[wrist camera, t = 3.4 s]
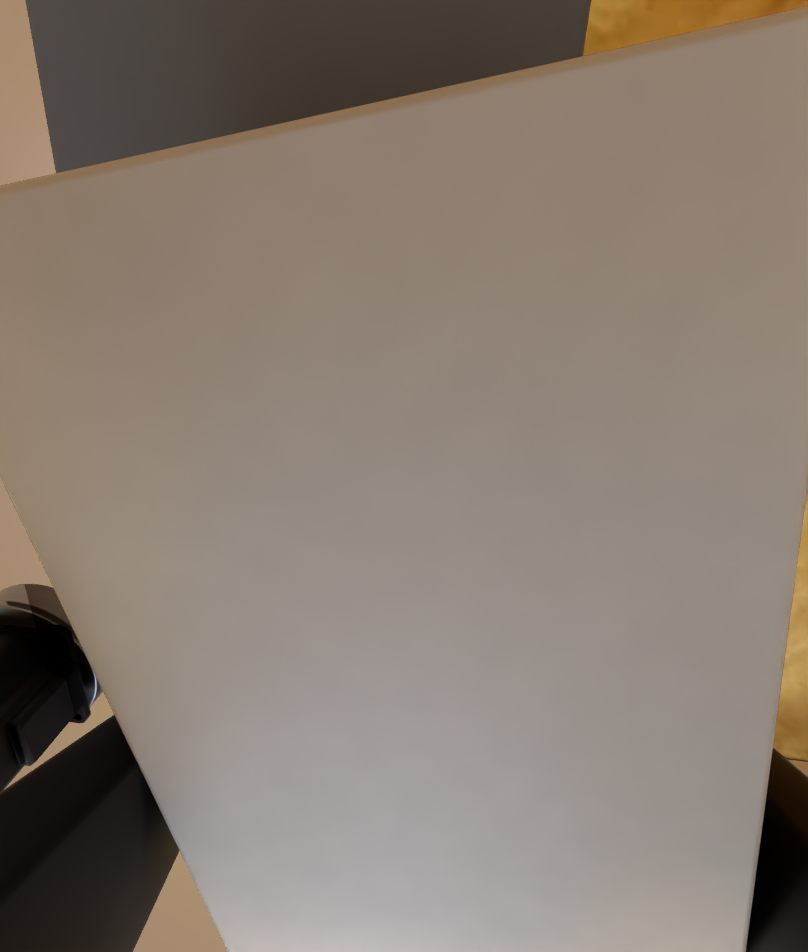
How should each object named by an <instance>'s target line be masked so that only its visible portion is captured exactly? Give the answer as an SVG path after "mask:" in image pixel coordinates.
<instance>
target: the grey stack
mask: <svg viewBox="0 0 808 952" xmlns="http://www.w3.org/2000/svg"><path fill="white" fill-rule="evenodd" d="M26 5H27V11H28V17H29V22H30V28H31V33H32V39H33V45H34V51H35V56H36V62H37V68H38V73H39V79H40V84H41V90H42V95H43V101H44V107H45V113H46V119H47V124H48V130H49V136H50V141H51V147H52V153H53V158H54V164H55V170H56V173H60V172H64V171H69V170H73V169H78V168H82V167H87V166H91V165H96V164H100V163H105V162H109V161H114V160H118V159H123V158H127V157H132V156H136V155H141V154H145V153H150V152H154V151H159V150H163V149H168V148H172V147H177V146H181V145H186V144H190V143H195V142H199V141H204V140H208V139H213V138H217V137H222V136H226V135H231V134H235V133H240V132H244V131H249V130H253V129H258V128H262V127H267V126H271V125H276V124H280V123H285V122H289V121H294V120H298V119H303V118H307V117H312V116H316V115H321V114H325V113H330V112H334V111H339V110H343V109H348V108H352V107H357V106H361V105H366V104H370V103H375V102H379V101H384V100H388V99H393V98H397V97H402V96H406V95H411V94H415V93H420V92H424V91H429V90H433V89H438V88H442V87H447V86H451V85H456V84H460V83H465V82H469V81H474V80H478V79H483V78H487V77H492V76H496V75H501V74H505V73H510V72H514V71H519V70H523V69H528V68H532V67H537V66H541V65H546V64H550V63H555V62H559V61H564V60H568V59H573V58H577V57H582V56H583V50H584V44H585V37H586V31H587V24H588V18H589V11H590V5H591V0H26Z"/></svg>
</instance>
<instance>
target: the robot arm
mask: <svg viewBox="0 0 808 952" xmlns="http://www.w3.org/2000/svg"><path fill="white" fill-rule="evenodd" d="M90 715H91V711H90V707H89V703H88V698H87V694H86V690H85V686H84V682H83V677H82V673H81V669H80V665H79V660H78V656H77V652H76V648H75V644H74V639H73V635H72V632H71V631H70V630H69V628H67V627H65V626H62V625H56V624H47V623H39V622H31V621H22V620H14V619H6V618H0V952H133V950H134V948H135V945H136V943H137V941H138V939H139V937H140V935H141V933H142V930H143V928H144V926H145V924H146V922H147V920H148V917H149V915H150V913H151V911H152V909H153V907H154V904H155V902H156V900H157V898H158V896H159V893H160V891H161V889H162V887H163V885H164V883H165V880H166V878H167V876H168V874H169V872H170V870H171V868H172V865H173V863H174V861H175V859H176V856H177V855H178V852H179V848H178V846H177V844H176V842H175V840H174V838H173V836H172V834H171V832H170V829H169V827H168V825H167V823H166V821H165V819H164V817H163V815H162V813H161V811H160V809H159V807H158V804H157V802H156V800H155V798H154V796H153V794H152V792H151V790H150V788H149V786H148V784H147V782H146V779H145V777H144V775H143V773H142V771H141V769H140V767H139V764H138V762H137V761H136V759H135V757H134V754H133V752H132V750H131V748H130V746H129V744H128V742H127V740H126V738H125V736H124V734H123V732H122V730H121V727H120V725H119V723H118V721H117V719H116V717H115V715H113V716H112V717H111V718H109V719H107V720H106V721H105V722H103V723H101V724H100V725H98V726H97V727H96V728H94V729H93V730H91V731H90V732H88V733H87V734H85V735H84V736H82V737H81V738H79V739H78V740H77V741H75V742H74V743H72V744H71V745H69V746H68V747H66V748H65V749H63V750H62V751H60V752H59V753H58V754H56V755H55V756H53V757H52V758H50V759H49V760H47V761H46V762H44V763H43V764H41V765H40V766H39V767H37V768H36V769H34V770H33V771H31V772H30V773H28V774H27V775H25V776H24V777H23V778H21V779H20V780H18V781H17V782H15V783H14V784H12V785H11V786H9V787H8V788H6V786H7V785H8V784H9V783H10V782H11V781H12V779H13V778H14V777H15V776H16V775H17V774H18V772H19V771H20V770H21V769H22V768H23V767H24V765H26V766H31V765H32V764H33V763H34V762H36V761H37V760H38V758H39V757H40V756H41V755H42V754H43V752H44V751H45V750H46V749H47V748H48V746H49V745H50V744H51V743H52V742H53V741H54V739H55V738H56V737H57V736H58V735H59V733H60V732H61V731H62V730H63V729H64V727H65V726H66V725H67V724H68V723H69V722H73V723H84V722H85V721H86V720H87V719H88V718H89V716H90ZM5 788H6V789H5ZM4 789H5V790H4ZM746 952H808V777H807V776H806V775H805V774H804V773H803V772H801V771H800V770H799V769H798V768H797V767H795V766H794V765H793V764H792V763H791V762H790V761H788V760H787V759H786V758H785V757H784V756H782V755H781V754H780V753H779V752H778V751H776V750H775V749H774V748H773V750H772V758H771V765H770V773H769V780H768V788H767V795H766V803H765V810H764V818H763V825H762V833H761V840H760V848H759V855H758V863H757V871H756V878H755V886H754V893H753V901H752V908H751V916H750V923H749V931H748V938H747V946H746Z"/></svg>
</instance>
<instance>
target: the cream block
mask: <svg viewBox="0 0 808 952" xmlns="http://www.w3.org/2000/svg"><path fill="white" fill-rule="evenodd" d="M0 477H1V479H2V482H3V484H4V485H5V488H6V490H7V492H8V494H9V496H10V498H11V500H12V502H13V504H14V507H15V509H16V511H17V513H18V515H19V517H20V519H21V521H22V523H23V525H24V527H25V530H26V532H27V534H28V536H29V538H30V540H31V542H32V544H33V546H34V548H35V550H36V552H37V554H38V557H39V559H40V561H41V563H42V565H43V567H44V569H45V571H46V573H47V575H48V577H49V579H50V581H51V584H52V586H53V588H54V590H55V592H56V594H57V596H58V598H59V600H60V602H61V605H62V607H63V609H64V611H65V613H66V615H67V617H68V619H69V621H70V623H71V625H72V627H73V630H74V632H75V634H76V636H77V638H78V640H79V642H80V644H81V646H82V648H83V650H84V652H85V655H86V657H87V659H88V661H89V663H90V665H91V667H92V669H93V671H94V673H95V675H96V677H97V680H98V682H99V684H100V686H101V688H102V690H103V692H104V694H105V696H106V698H107V700H108V702H109V704H110V706H111V709H112V711H113V713H114V715H115V717H116V719H117V721H118V723H119V725H120V727H121V730H122V732H123V734H124V736H125V738H126V740H127V742H128V744H129V746H130V748H131V750H132V752H133V754H134V757H135V759H136V761H137V762H138V764H139V767H140V769H141V771H142V773H143V775H144V777H145V779H146V782H147V784H148V786H149V788H150V790H151V792H152V794H153V796H154V798H155V800H156V802H157V804H158V807H159V809H160V811H161V813H162V815H163V817H164V819H165V821H166V823H167V825H168V827H169V829H170V832H171V834H172V836H173V838H174V840H175V842H176V844H177V846H178V848H179V850H180V852H181V854H182V856H183V858H184V861H185V862H186V865H187V867H188V869H189V871H190V873H191V875H192V877H193V879H194V881H195V884H196V886H197V888H198V890H199V892H200V894H201V896H202V898H203V900H204V902H205V904H206V907H207V908H208V911H209V913H210V915H211V917H212V919H213V921H214V923H215V925H216V927H217V929H218V931H219V933H220V936H221V938H222V940H223V942H224V944H225V946H226V948H227V950H228V952H746V946H747V938H748V931H749V923H750V916H751V908H752V901H753V893H754V886H755V878H756V871H757V863H758V855H759V848H760V840H761V833H762V825H763V818H764V810H765V803H766V795H767V788H768V780H769V773H770V765H771V758H772V750H773V743H774V735H775V728H776V720H777V713H778V705H779V697H780V690H781V682H782V675H783V667H784V660H785V652H786V645H787V637H788V630H789V622H790V615H791V607H792V600H793V592H794V585H795V577H796V570H797V562H798V554H799V547H800V539H801V532H802V524H803V517H804V509H805V502H806V494H807V487H808V6H807V7H802V8H798V9H793V10H789V11H784V12H780V13H775V14H771V15H766V16H762V17H757V18H753V19H748V20H744V21H739V22H735V23H730V24H726V25H721V26H717V27H712V28H708V29H703V30H699V31H694V32H690V33H685V34H681V35H676V36H672V37H667V38H663V39H658V40H654V41H649V42H645V43H640V44H636V45H631V46H627V47H622V48H618V49H613V50H609V51H604V52H600V53H595V54H591V55H586V56H582V57H577V58H573V59H568V60H564V61H559V62H555V63H550V64H546V65H541V66H537V67H532V68H528V69H523V70H519V71H514V72H510V73H505V74H501V75H496V76H492V77H487V78H483V79H478V80H474V81H469V82H465V83H460V84H456V85H451V86H447V87H442V88H438V89H433V90H429V91H424V92H420V93H415V94H411V95H406V96H402V97H397V98H393V99H388V100H384V101H379V102H375V103H370V104H366V105H361V106H357V107H352V108H348V109H343V110H339V111H334V112H330V113H325V114H321V115H316V116H312V117H307V118H303V119H298V120H294V121H289V122H285V123H280V124H276V125H271V126H267V127H262V128H258V129H253V130H249V131H244V132H240V133H235V134H231V135H226V136H222V137H217V138H213V139H208V140H204V141H199V142H195V143H190V144H186V145H181V146H177V147H172V148H168V149H163V150H159V151H154V152H150V153H145V154H141V155H136V156H132V157H127V158H123V159H118V160H114V161H109V162H105V163H100V164H96V165H91V166H87V167H82V168H78V169H73V170H69V171H64V172H60V173H55V174H51V175H47V176H42V177H37V178H33V179H29V180H24V181H19V182H15V183H10V184H6V185H1V186H0Z"/></svg>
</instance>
